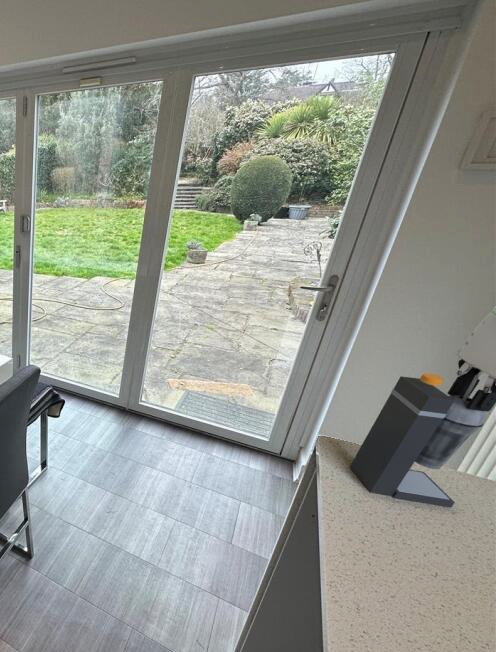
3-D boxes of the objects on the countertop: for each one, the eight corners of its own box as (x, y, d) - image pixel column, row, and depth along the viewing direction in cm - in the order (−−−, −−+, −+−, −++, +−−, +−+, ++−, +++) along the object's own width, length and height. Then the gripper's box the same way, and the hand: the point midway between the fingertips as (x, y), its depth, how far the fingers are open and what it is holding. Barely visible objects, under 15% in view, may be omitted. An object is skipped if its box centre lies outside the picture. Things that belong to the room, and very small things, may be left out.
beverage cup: (407, 465, 83) (460, 381, 74) (397, 445, 89) (446, 365, 80) (456, 479, 80) (518, 392, 71) (442, 458, 85) (499, 375, 76)
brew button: (433, 379, 78) (436, 374, 78) (444, 386, 76) (447, 381, 75) (416, 377, 79) (419, 372, 78) (426, 384, 77) (429, 379, 76)
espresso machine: (420, 476, 90) (482, 384, 80) (451, 507, 83) (525, 410, 72) (347, 465, 93) (398, 374, 82) (371, 494, 85) (430, 398, 75)
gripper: (610, 335, 61) (532, 432, 70) (510, 299, 76) (456, 383, 84) (548, 329, 63) (479, 425, 71) (462, 295, 77) (413, 378, 86)
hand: (467, 401), depth 77 cm, fingers closed on beverage cup, 4 cm apart
